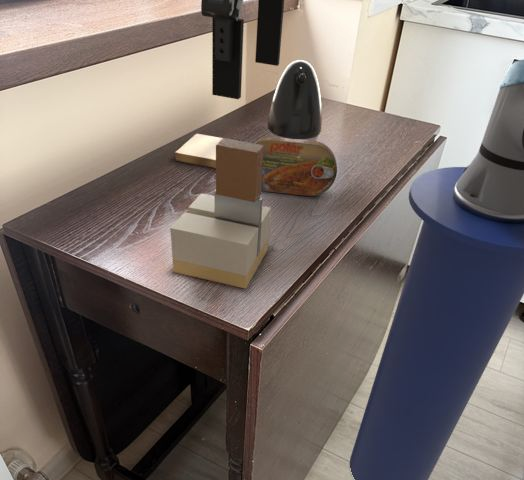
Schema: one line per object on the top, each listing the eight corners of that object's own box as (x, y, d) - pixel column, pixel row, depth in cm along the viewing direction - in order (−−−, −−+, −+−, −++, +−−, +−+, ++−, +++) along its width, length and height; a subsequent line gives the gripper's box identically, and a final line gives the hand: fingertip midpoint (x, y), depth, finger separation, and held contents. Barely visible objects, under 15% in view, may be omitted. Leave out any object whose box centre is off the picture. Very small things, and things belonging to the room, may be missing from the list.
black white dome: (266, 157, 95) (273, 67, 84) (265, 136, 102) (271, 51, 92) (321, 160, 95) (333, 71, 85) (315, 139, 103) (326, 54, 92)
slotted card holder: (268, 249, 72) (271, 207, 67) (245, 288, 65) (247, 244, 60) (202, 235, 73) (201, 193, 69) (173, 272, 66) (170, 227, 62)
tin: (242, 188, 85) (244, 138, 79) (245, 180, 87) (247, 130, 81) (332, 199, 84) (340, 149, 78) (333, 191, 86) (341, 141, 80)
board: (255, 151, 96) (255, 144, 95) (238, 172, 89) (238, 164, 88) (196, 141, 98) (196, 133, 97) (175, 160, 91) (174, 152, 90)
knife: (261, 250, 68) (268, 145, 58) (255, 260, 66) (261, 153, 56) (218, 241, 69) (218, 136, 59) (212, 250, 67) (211, 144, 57)
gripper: (263, -199, 50) (251, 48, 64) (145, -250, 32) (166, 106, 46) (338, -193, 48) (309, 57, 63) (259, -244, 31) (244, 121, 45)
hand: (248, 78), depth 55 cm, fingers open, 13 cm apart
